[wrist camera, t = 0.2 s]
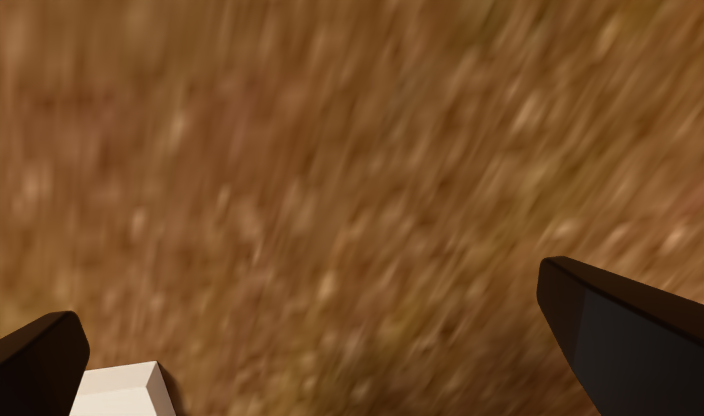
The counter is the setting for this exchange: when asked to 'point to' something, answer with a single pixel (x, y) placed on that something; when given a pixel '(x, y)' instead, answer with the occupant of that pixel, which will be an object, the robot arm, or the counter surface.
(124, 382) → the fader panel
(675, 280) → the counter surface
